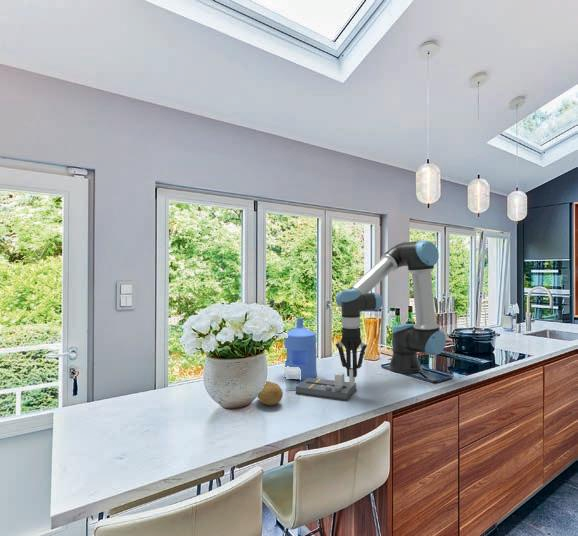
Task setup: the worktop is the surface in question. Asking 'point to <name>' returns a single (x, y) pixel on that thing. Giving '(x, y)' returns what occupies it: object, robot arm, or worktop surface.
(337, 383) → the fader
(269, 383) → the potato
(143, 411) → the worktop surface
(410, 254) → the robot arm
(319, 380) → the console
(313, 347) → the water jug
